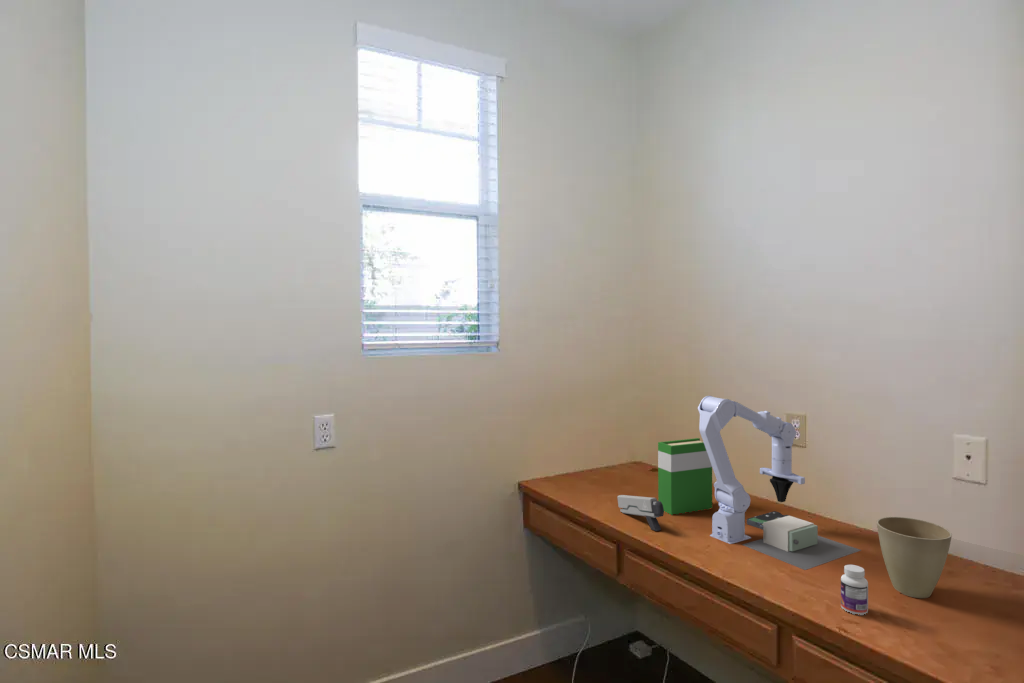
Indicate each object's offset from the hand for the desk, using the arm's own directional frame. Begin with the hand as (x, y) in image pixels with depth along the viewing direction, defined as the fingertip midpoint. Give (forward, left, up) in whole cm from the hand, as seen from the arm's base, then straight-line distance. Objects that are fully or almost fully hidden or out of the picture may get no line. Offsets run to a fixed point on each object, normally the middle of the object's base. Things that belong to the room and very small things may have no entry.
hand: (781, 501), depth 178 cm
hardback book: (-10, +31, -10) cm, 34 cm away
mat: (-8, -12, -9) cm, 17 cm away
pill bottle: (-30, -40, -10) cm, 51 cm away
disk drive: (+2, +4, -10) cm, 11 cm away
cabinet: (-8, -8, -9) cm, 14 cm away
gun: (-33, +30, -10) cm, 45 cm away
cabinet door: (-8, -13, -9) cm, 18 cm away
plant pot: (-9, -42, -10) cm, 44 cm away
